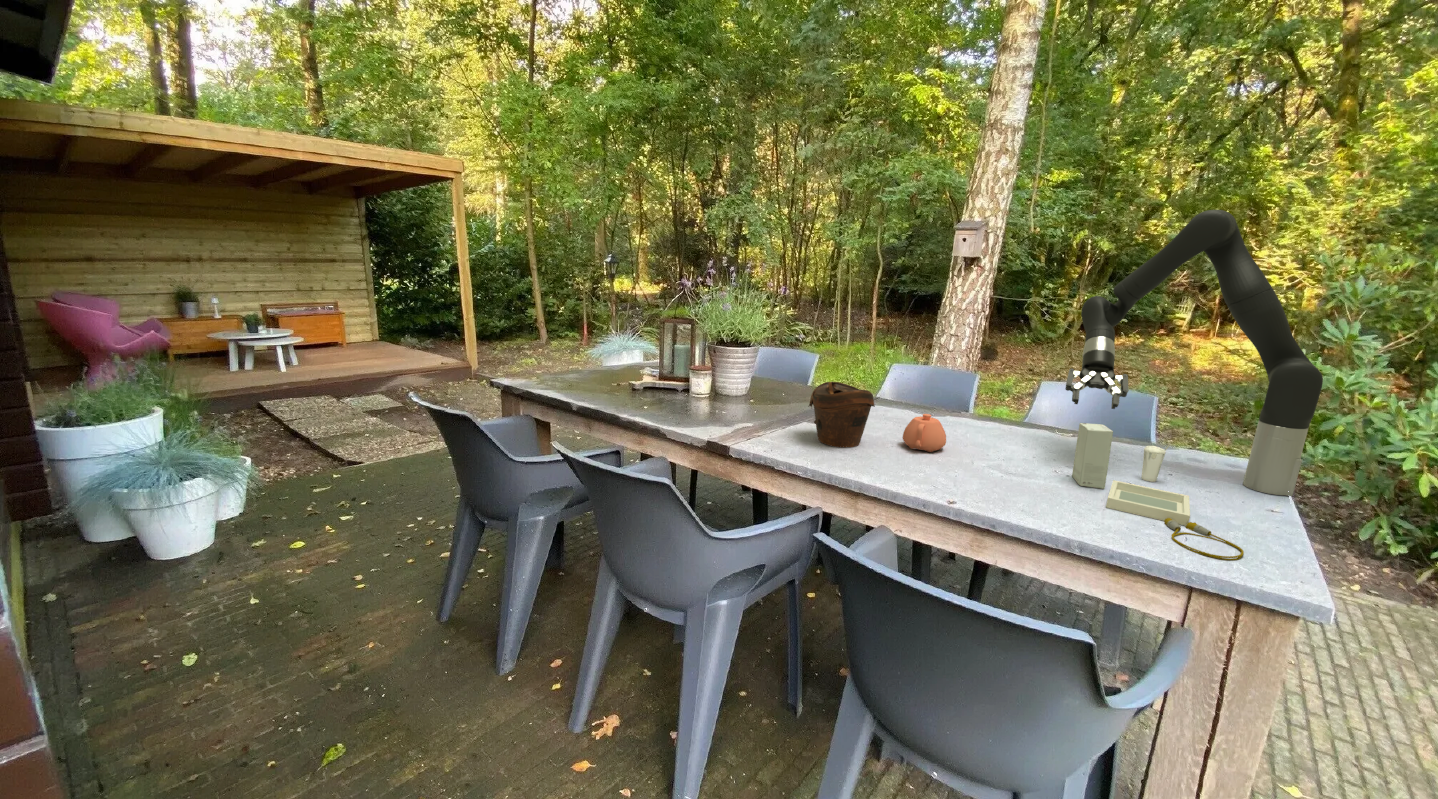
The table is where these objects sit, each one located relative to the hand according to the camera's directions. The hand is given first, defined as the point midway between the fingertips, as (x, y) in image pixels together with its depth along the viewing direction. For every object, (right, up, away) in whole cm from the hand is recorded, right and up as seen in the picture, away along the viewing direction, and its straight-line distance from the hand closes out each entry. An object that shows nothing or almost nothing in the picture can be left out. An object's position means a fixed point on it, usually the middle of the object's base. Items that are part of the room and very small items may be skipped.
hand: (1095, 405), depth 159 cm
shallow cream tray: (-1, -23, -20) cm, 31 cm away
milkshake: (+13, -20, -2) cm, 24 cm away
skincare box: (-6, -20, -6) cm, 22 cm away
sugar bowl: (-40, -13, +18) cm, 46 cm away
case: (-64, -11, +22) cm, 69 cm away
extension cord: (-2, -28, -38) cm, 47 cm away
